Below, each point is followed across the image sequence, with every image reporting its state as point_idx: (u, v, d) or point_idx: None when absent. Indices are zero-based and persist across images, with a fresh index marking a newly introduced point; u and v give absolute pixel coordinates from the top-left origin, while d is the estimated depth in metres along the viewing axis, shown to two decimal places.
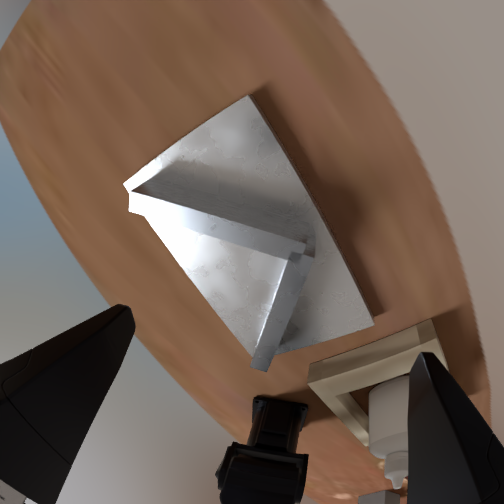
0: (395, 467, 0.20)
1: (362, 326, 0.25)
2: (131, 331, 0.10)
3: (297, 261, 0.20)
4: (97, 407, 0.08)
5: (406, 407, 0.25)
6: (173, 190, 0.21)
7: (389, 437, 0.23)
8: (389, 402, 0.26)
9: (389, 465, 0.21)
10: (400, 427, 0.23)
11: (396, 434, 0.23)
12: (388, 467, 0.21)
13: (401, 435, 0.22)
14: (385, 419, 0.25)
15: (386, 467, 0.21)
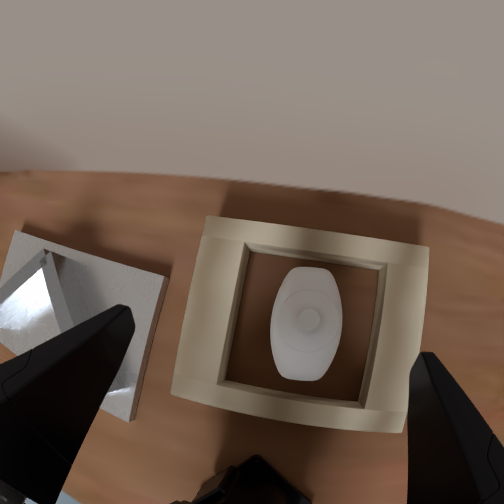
0: None
1: (157, 288, 0.23)
2: (131, 331, 0.10)
3: (45, 262, 0.22)
4: (97, 407, 0.08)
5: None
6: None
7: None
8: None
9: None
10: None
11: None
12: None
13: (275, 300, 0.15)
14: None
15: None
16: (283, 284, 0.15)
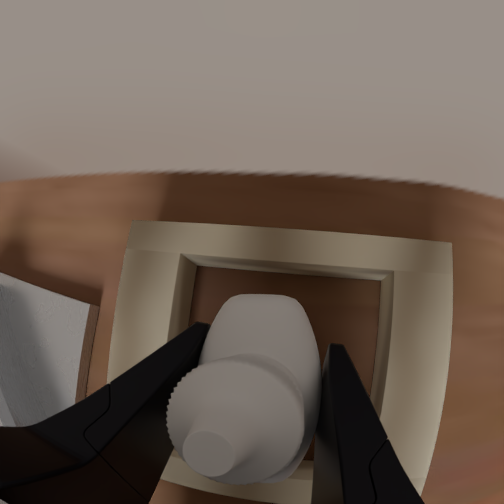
0: None
1: (82, 320, 0.16)
2: None
3: None
4: None
5: None
6: None
7: None
8: None
9: None
10: None
11: None
12: None
13: None
14: None
15: None
16: (211, 328, 0.08)
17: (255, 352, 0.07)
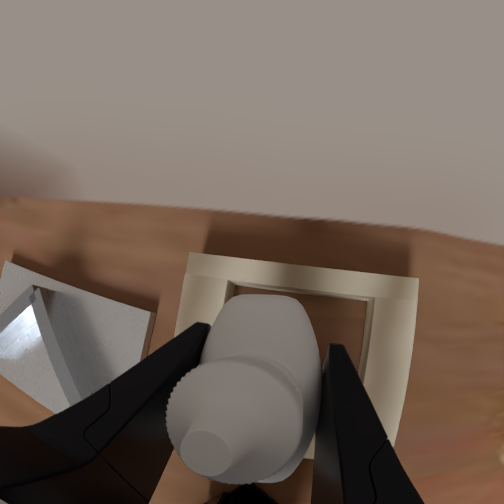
0: None
1: (144, 324, 0.22)
2: None
3: (34, 299, 0.21)
4: None
5: None
6: None
7: None
8: None
9: None
10: None
11: None
12: None
13: None
14: None
15: None
16: (212, 328, 0.08)
17: (255, 352, 0.07)
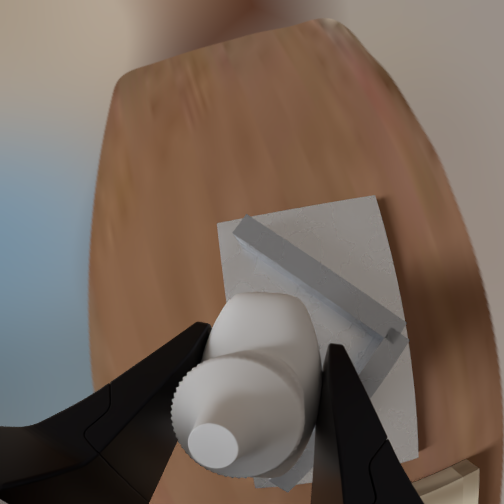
0: None
1: (405, 458, 0.17)
2: None
3: (393, 340, 0.17)
4: None
5: None
6: None
7: None
8: None
9: None
10: None
11: None
12: None
13: None
14: None
15: None
16: (215, 324, 0.08)
17: (258, 349, 0.07)
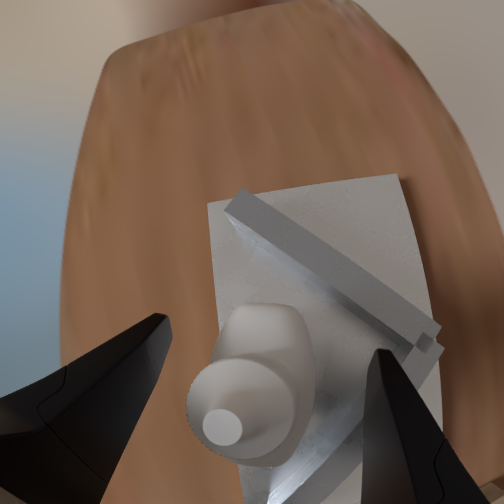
0: None
1: None
2: (168, 341, 0.09)
3: (425, 349, 0.12)
4: (135, 422, 0.08)
5: None
6: None
7: None
8: None
9: None
10: None
11: None
12: None
13: None
14: None
15: None
16: (222, 331, 0.10)
17: (259, 352, 0.09)
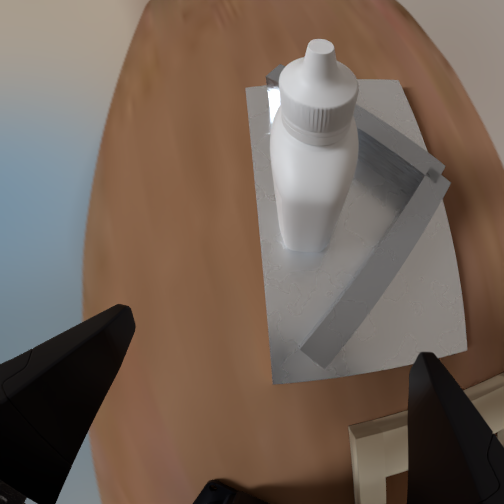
0: None
1: (454, 349, 0.15)
2: (131, 331, 0.10)
3: (434, 179, 0.15)
4: (97, 407, 0.08)
5: None
6: None
7: None
8: None
9: (284, 104, 0.09)
10: None
11: None
12: (285, 104, 0.09)
13: None
14: None
15: (288, 111, 0.09)
16: None
17: None
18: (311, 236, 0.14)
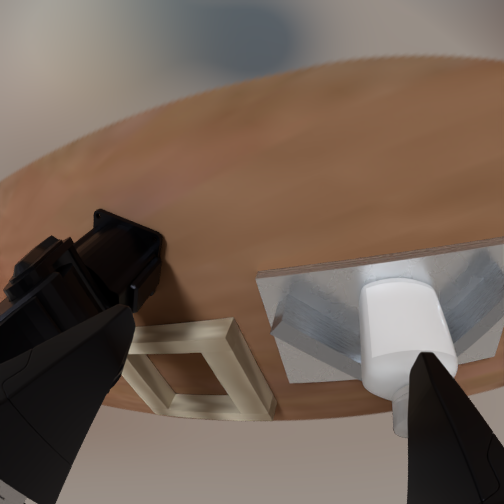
0: None
1: (290, 376, 0.27)
2: (131, 331, 0.10)
3: None
4: (97, 407, 0.08)
5: (435, 319, 0.16)
6: None
7: (416, 352, 0.14)
8: (407, 303, 0.17)
9: None
10: (432, 343, 0.14)
11: (427, 351, 0.14)
12: None
13: None
14: (403, 324, 0.16)
15: (406, 405, 0.12)
16: (447, 365, 0.13)
17: None
18: (360, 332, 0.19)
